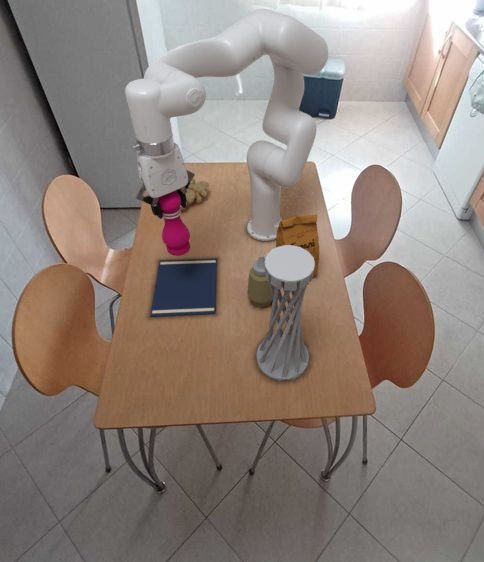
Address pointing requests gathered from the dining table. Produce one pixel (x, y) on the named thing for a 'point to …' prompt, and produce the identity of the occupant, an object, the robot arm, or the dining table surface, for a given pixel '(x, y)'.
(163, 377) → the dining table surface
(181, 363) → the dining table surface
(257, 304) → the squeeze bottle
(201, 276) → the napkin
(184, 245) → the pepper mill
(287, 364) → the twisted lattice pedestal
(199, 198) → the ginger root
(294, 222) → the coffee package
